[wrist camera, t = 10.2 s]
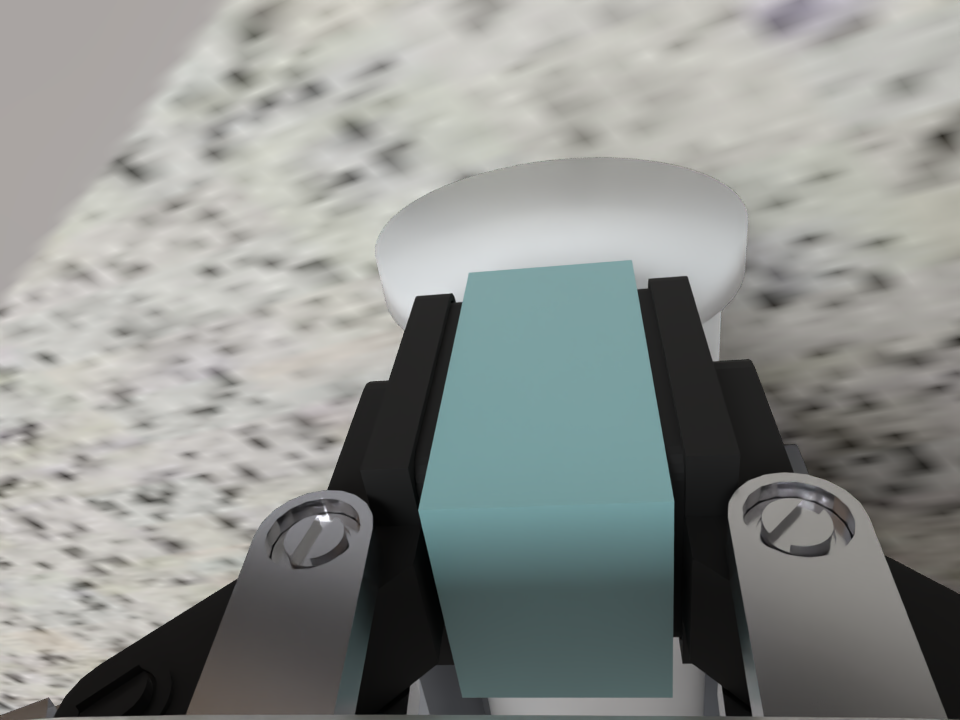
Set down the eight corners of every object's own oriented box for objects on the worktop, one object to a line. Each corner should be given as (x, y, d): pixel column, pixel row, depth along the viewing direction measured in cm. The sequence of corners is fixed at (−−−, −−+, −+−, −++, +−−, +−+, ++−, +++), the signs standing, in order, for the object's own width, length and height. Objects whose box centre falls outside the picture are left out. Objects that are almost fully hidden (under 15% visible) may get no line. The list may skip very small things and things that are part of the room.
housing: (797, 444, 23) (868, 624, 18) (758, 771, 33) (797, 952, 28) (217, 470, 26) (127, 633, 21) (338, 766, 36) (299, 929, 30)
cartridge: (715, 99, 17) (954, 490, 7) (697, 617, 27) (786, 1115, 16) (399, 133, 18) (184, 518, 8) (490, 621, 28) (448, 1090, 17)
